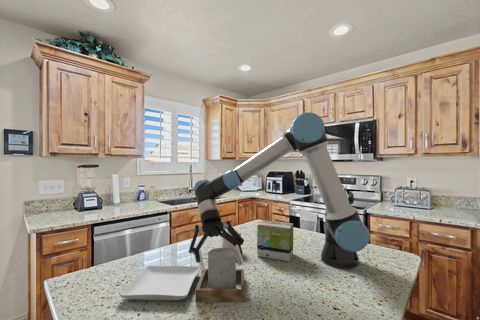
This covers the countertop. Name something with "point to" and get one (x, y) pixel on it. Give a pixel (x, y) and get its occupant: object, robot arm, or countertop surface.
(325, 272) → the countertop surface
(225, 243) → the teacup with lid
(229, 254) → the grey speckled cylinder
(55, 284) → the countertop surface
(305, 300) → the countertop surface
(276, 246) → the tea box
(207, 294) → the collar
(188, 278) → the salad plate
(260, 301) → the countertop surface
